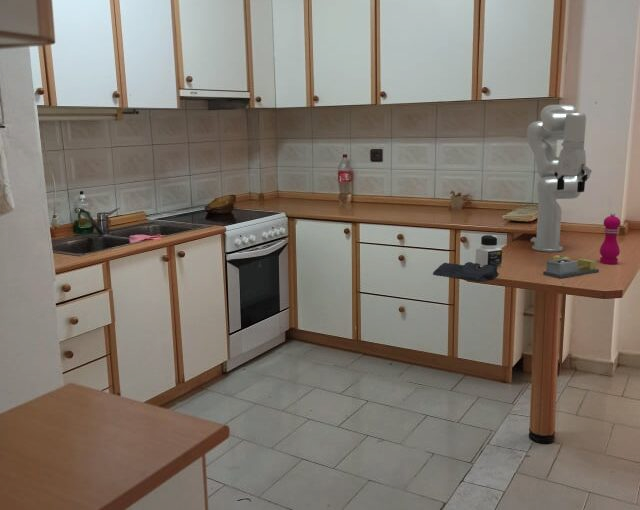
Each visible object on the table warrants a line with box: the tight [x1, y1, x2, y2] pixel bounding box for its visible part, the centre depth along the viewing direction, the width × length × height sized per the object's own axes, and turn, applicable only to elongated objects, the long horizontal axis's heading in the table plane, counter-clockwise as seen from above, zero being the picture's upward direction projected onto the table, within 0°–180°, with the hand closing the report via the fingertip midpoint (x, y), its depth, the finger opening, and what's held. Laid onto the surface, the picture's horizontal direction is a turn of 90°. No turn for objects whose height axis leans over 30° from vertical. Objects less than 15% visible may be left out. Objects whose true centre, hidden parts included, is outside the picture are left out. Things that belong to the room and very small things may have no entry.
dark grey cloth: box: [432, 261, 499, 283], centre depth 235 cm, size 15×22×5 cm
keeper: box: [542, 257, 600, 279], centre depth 235 cm, size 8×20×5 cm, turn 118°
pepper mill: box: [599, 211, 621, 265], centre depth 251 cm, size 7×7×20 cm
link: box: [545, 259, 578, 275], centre depth 233 cm, size 6×9×4 cm, turn 118°
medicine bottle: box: [474, 234, 503, 268], centre depth 247 cm, size 7×7×12 cm
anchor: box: [552, 254, 572, 260], centre depth 254 cm, size 6×3×3 cm, turn 28°
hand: (570, 190), depth 248 cm, fingers open, 9 cm apart
